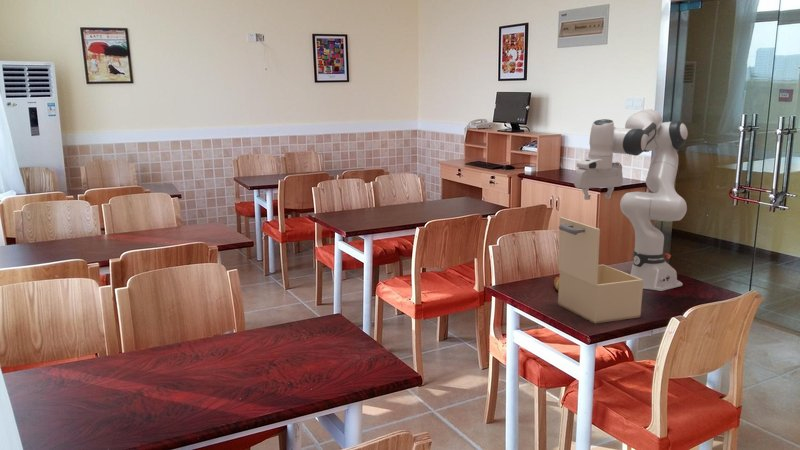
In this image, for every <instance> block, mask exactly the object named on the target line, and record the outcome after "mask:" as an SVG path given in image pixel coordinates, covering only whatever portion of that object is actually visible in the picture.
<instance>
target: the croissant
mask: <svg viewBox="0 0 800 450" xmlns="http://www.w3.org/2000/svg"><path fill="white" fill-rule="evenodd" d="M559 278H560V276H558V277H557V276H556V277H554V280H553V285H554V288H555V290H557V291H558V292H559Z"/></svg>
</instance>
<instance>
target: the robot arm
mask: <svg viewBox="0 0 800 450" xmlns="http://www.w3.org/2000/svg"><path fill="white" fill-rule="evenodd" d="M624 124H625V125H624V128H620V127H616V126H615V123H614V120H612V119H609V118H607V119H606V118H603V119H602V118H601V119H598V120H594V121H593V122H592V124H591V128H590V129H591V130H590V134H589V142H588V143H589V152H588V157H586V158H584V159H581V160H578V161H577V162H576V163H575V165H576V169H575V171H574V172H575V173H574V178H573V180H574V181H573V185H574V187H575V188H577V189H582V193H583V196H584V200H586V201H590V200H591V194H589V191H590V190H589V189H594V188H597V189H598V188H607V191H606V193H604V199H611V195H612V193H613V192H614V190H615V188H616V187H617V188H618V187H622V185H623V181H624V180H623V178H624V177H623V165H622V163H620V162H618V161H617V162H613V159H614V158H613V157H614V154H620V155H621V154H623V155H629V156H630V155H631V156H639V155H641V154H642V153H644V152H645V153H648V152H653V151H654V152H655V154H654V156H653V158H652V160H651V161H650V164H649V168H648V172H647V174H646V175H647V176H646V178H645V184H646V187H647V188H648V190H649V191H651V192H647V191H631V192H626V193H625V194H623V196H622V197H621V199H620V201H619V208H620V211H621V212H622V214H623V215H624V216H625V217H626V218H627V219H628V220H629V222H630V223H631V225H632V227H633V230H634V238H635V239H634V250H633V253H632V265H631V271H630V273H629V274H630V275H632V276H635V277H638V278H640V279H643V280H644V281H643V290H653V291H659V292H663V291H666V290H667V291H668V290H671V289H674V288H675V289H676V288H678V287H682V286H683V282H681V281H680V280H678V273H677V270H676V269H675V268H674V267H673V266H672V265H670V264H669V263H668V262H667V261H666V259H668V260H669V259H671V257H672V255H671V254H670V253H668V252H667V253H664V244H665V235H664V233H663V232H662V231H661V230H660V229H659V228H657V227H656V226H654V225H653V224H652V222H651V221H652V220H653V221H661V222H677V221H682V219H683V218H684V217H685V215H686V213H687V211H688V208H687V207H688V205H687V202H686V200H685V199H684V198H683V197H682V196H681V195H679V193H677V191H676V188H675V181H676V176H677V173H678V169H679V168H678V167H679V154H678V152H677V151H679V150H681V149H682V148H683V146H684V145H685V144H686V141H687V140H688V137H689V131H688V127H687V125H686V124H685V123H684V122H683V121H682V120H671V121H665V122H663V117H662V115H661V113H660V112H659V111H657V110H655V109H652V108H651V109H644V110H640V111H637V112H635V113H633V114H632V115H630V116H629V117H628V118H627V119H626V121H625V123H624Z"/></svg>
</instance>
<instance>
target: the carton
mask: <svg viewBox="0 0 800 450" xmlns="http://www.w3.org/2000/svg"><path fill="white" fill-rule="evenodd" d="M559 277H560V278H559V291H558V294H557V295H558V297H557V306H560V307H562V308H564V309H566V310H568V311H569V312H571V313H573V314H575V315H577V316H579V317H581V318H583V319H585V320H587V321H588V320H589V321H588V322H590V323H593V324H603V323H609V322H616V321H623V320H627V319H636V318H641V313H642V301H643V291H644V289H643V281H644V280H643V279H640V278H638V277H635V276H632V275H630V273H627V272H625V271H622V270H619V269H617V268H614V267H611V266H609V265H606V264H598V282H597V286H595V285H593V284H590V283H588V282H586V281H584V280H581V279H579V278H577V277H574V276H572V275H570V274H568V273H565V272H563V271H561V270H559Z"/></svg>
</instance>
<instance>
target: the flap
mask: <svg viewBox="0 0 800 450" xmlns="http://www.w3.org/2000/svg"><path fill="white" fill-rule="evenodd" d="M558 229H559V232H558V260H557V263H558V264H557V270H559V271H560V270H561V271H563V272H565V273H568V274H570V275H572V276H574V277H577V278H579V279H581V280H584V281H586V282H588V283H590V284H593V285H595V286H597V282H598V265H599V257H600V238H601V228H598V227H595V226H592V225H588V224H586V223H583V222H579V221H575V220H573V219H568V218H565V217H563V216H559V226H558Z"/></svg>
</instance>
